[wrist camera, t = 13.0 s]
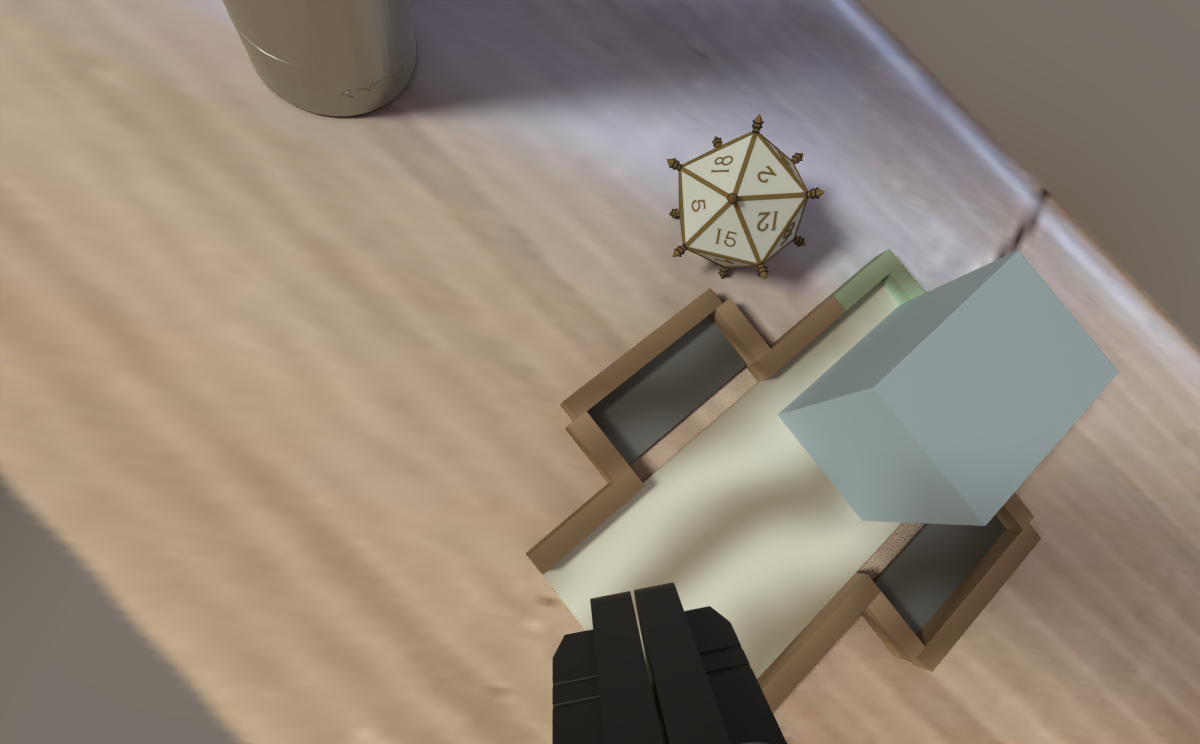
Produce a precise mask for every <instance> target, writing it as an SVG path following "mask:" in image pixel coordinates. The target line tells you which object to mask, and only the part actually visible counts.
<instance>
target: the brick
mask: <svg viewBox="0 0 1200 744" xmlns="http://www.w3.org/2000/svg"><path fill="white" fill-rule="evenodd" d="M1118 372H1119V371H1118V370H1117V369H1116V368H1115V366H1114V365H1113V364H1112V363H1111V362H1110V360H1109V359H1108V358H1107V357H1106V356H1105V354H1104V353H1103V352H1102V351H1101V349H1100V348H1099V347H1098V346H1097V345H1096V343H1095V342H1094V341H1093V340H1092V339H1091V337H1090V336H1089V335H1088V334H1087V333H1086V331H1085V330H1084V329H1083V328H1082V326H1081V325H1080V324H1079V323H1078V322H1077V320H1076V319H1075V318H1074V317H1073V316H1072V314H1071V313H1070V312H1069V311H1068V309H1067V308H1066V307H1065V306H1064V305H1063V303H1062V302H1061V301H1060V300H1059V299H1058V297H1057V296H1056V295H1055V294H1054V292H1053V291H1052V290H1051V289H1050V288H1049V286H1048V285H1047V284H1046V283H1045V282H1044V280H1043V279H1042V278H1041V277H1040V275H1039V274H1038V273H1037V272H1036V271H1035V269H1034V268H1033V267H1032V266H1031V265H1030V263H1029V262H1028V261H1027V260H1026V258H1025V257H1024V256H1023V255H1022V254H1021V252H1020V251H1019V250H1018V251H1016V252H1014V253H1012V254H1009V255H1007V256H1005V257H1003V258H1001V259H999V260H996V261H994V262H992V263H990V264H988V265H985V266H983V267H981V268H979V269H977V270H975V271H972V272H970V273H968V274H966V275H964V276H962V277H959V278H957V279H955V280H953V281H951V282H948V283H946V284H944V285H942V286H940V287H938V288H935V289H933V290H931V291H929V292H927V293H924V294H922V295H920V296H918V297H916V298H914V299H911V300H909V301H907V302H905V303H903V304H900V305H899V306H898V307H897V308H896V309H895V310H893V311H892V312H891V313H890V314H889V315H888V316H887V317H886V318H885V319H883V320H882V321H881V322H880V323H879V324H878V325H877V326H876V327H875V328H873V329H872V330H871V331H870V332H869V333H868V334H867V335H866V336H865V337H863V338H862V339H861V340H860V341H859V342H858V343H857V344H856V345H855V346H853V347H852V348H851V349H850V350H849V351H848V352H847V353H846V354H845V355H843V356H842V357H841V358H840V359H839V360H838V361H837V362H836V363H835V364H833V365H832V366H831V367H830V368H829V369H828V370H827V371H826V372H825V373H823V374H822V375H821V376H820V377H819V378H818V379H817V380H816V381H815V382H813V383H812V384H811V385H810V386H809V387H808V388H807V389H806V390H805V391H803V392H802V393H801V394H800V395H799V396H798V397H797V398H796V399H795V400H793V401H792V402H791V403H790V404H789V405H788V406H787V407H786V408H785V409H783V410H782V411H781V412H780V413H779V414H778V416H779V417H780V419H781V420H782V421H783V423H784V424H785V425H786V426H787V428H788V429H789V430H790V431H791V433H792V434H793V435H794V436H795V438H796V439H797V440H798V441H799V443H800V444H801V445H802V446H803V448H804V449H805V450H806V451H807V453H808V454H809V455H810V456H811V458H812V459H813V460H814V461H815V463H816V464H817V465H818V466H819V468H820V469H821V470H822V471H823V473H824V474H825V475H826V476H827V478H828V479H829V480H830V481H831V483H832V484H833V485H834V487H835V488H836V489H837V490H838V492H839V493H840V494H841V495H842V497H843V498H844V499H845V500H846V502H847V503H848V504H849V505H850V507H851V508H852V509H853V510H854V512H855V513H856V514H857V515H858V517H859V518H860V519H861V520H862V521H881V522H905V523H928V524H952V525H976V526H986V525H987V524H988V522H989V521H990V520H991V519H992V518H993V517H994V515H995V514H996V513H997V512H998V511H999V510H1000V509H1001V507H1002V506H1003V505H1004V504H1005V503H1006V502H1007V500H1008V499H1009V498H1010V497H1011V496H1012V495H1013V494H1014V492H1015V491H1016V490H1017V489H1018V488H1019V487H1020V485H1021V484H1022V483H1023V482H1024V481H1025V480H1026V479H1027V477H1028V476H1029V475H1030V474H1031V473H1032V472H1033V470H1034V469H1035V468H1036V467H1037V466H1038V465H1039V464H1040V462H1041V461H1042V460H1043V459H1044V458H1045V457H1046V455H1047V454H1048V453H1049V452H1050V451H1051V450H1052V449H1053V447H1054V446H1055V445H1056V444H1057V443H1058V442H1059V440H1060V439H1061V438H1062V437H1063V436H1064V435H1065V433H1066V432H1067V431H1068V430H1069V429H1070V428H1071V427H1072V425H1073V424H1074V423H1075V422H1076V421H1077V420H1078V418H1079V417H1080V416H1081V415H1082V414H1083V413H1084V412H1085V410H1086V409H1087V408H1088V407H1089V406H1090V405H1091V403H1092V402H1093V401H1094V400H1095V399H1096V398H1097V397H1098V395H1099V394H1100V393H1101V392H1102V391H1103V390H1104V388H1105V387H1106V386H1107V385H1108V384H1109V383H1110V382H1111V380H1112V379H1113V378H1114V377H1115V376H1116V375H1117V373H1118Z"/></svg>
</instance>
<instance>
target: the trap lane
mask: <svg viewBox="0 0 1200 744" xmlns="http://www.w3.org/2000/svg"><path fill="white" fill-rule="evenodd" d="M924 293H925V292H924V290H923V289H922V288H921V287H920V286H919V284H918V283H917V282H916V281H915V279H914V278H913V277H912V276H911V274H910V273H909V272H908V271H907V270H906V268H905V267H904V266H903V265H902V263H901V262H900V261H899V260H898V259H897V257H896V256H895V255H894V254H893V252H892V251H891V250H890V249H888V250H886V251H885V252H883V253H881V254H880V255H878V256H876V257H875V258H874V259H872V260H871V261H870V262H869V263H868V264H866V265H865V266H864V267H863V268H862V269H861V270H859V271H858V272H857V273H856V274H855V275H854V276H852V277H851V278H850V279H849V280H848V281H846V282H845V283H844V284H843V285H842V286H841V287H839V288H838V289H837V290H836V291H835V292H833V293H832V294H831V295H830V296H829V297H828V298H826V299H825V300H824V301H823V302H822V303H821V304H819V305H818V306H817V307H816V308H815V309H813V310H812V311H811V312H810V313H809V314H808V315H806V316H805V317H804V318H803V319H802V320H800V321H799V322H798V323H797V324H796V325H795V326H793V327H792V328H791V329H790V330H789V331H787V332H786V333H785V334H784V335H783V336H782V337H780V338H779V339H778V340H777V341H776V342H775V343H773V344H772V345H771V346H770V347H769V346H768V345H767V343H766V342H765V341H764V340H763V338H762V337H761V336H760V335H759V333H758V332H757V331H756V330H755V328H754V327H753V326H752V325H751V323H750V322H749V321H748V320H747V319H746V317H745V316H744V315H743V314H742V312H741V311H740V310H739V309H738V307H737V306H736V305H735V304H734V302H733V301H732V300H731V299H730V298H729V299H728V300H727V301H726V302H724V303H722V302H721V300H720V299H719V298H718V297H717V295H716V294H715V293H714V292H713V290H712V289H711V288H709V289H708V290H707V291H706V292H704V293H703V294H702V295H700V296H699V297H698V298H697V299H695V300H694V301H693V302H691V303H690V304H689V305H687V306H686V307H685V308H684V309H682V310H681V311H680V312H678V313H677V314H676V315H675V316H673V317H672V318H671V319H669V320H668V321H667V322H665V323H664V324H663V325H662V326H660V327H659V328H658V329H656V330H655V331H654V332H653V333H651V334H650V335H649V336H647V337H646V338H645V339H643V340H642V341H641V342H640V343H638V344H637V345H636V346H634V347H633V348H632V349H631V350H629V351H628V352H627V353H625V354H624V355H623V356H621V357H620V358H619V359H618V360H616V361H615V362H614V363H612V364H611V365H610V366H609V367H607V368H606V369H605V370H603V371H602V372H601V373H599V374H598V375H597V376H596V377H594V378H593V379H592V380H590V381H589V382H588V383H587V384H585V385H584V386H583V387H581V388H580V389H579V390H577V391H576V392H575V393H574V394H572V395H571V396H570V397H568V398H567V399H566V400H564V402H563V403H562V404H561V407H562V408H563V409H564V410H565V412H566V413H567V414H568V416H569V417H570V418H571V419H572V421H573V422H572V423H571V424H570V425H569V426H567V427H566V428H565V429H566V430H567V431H568V433H569V434H570V435H571V436H572V438H573V439H574V440H575V442H576V443H577V444H578V445H579V447H580V448H581V449H582V450H583V452H584V453H585V454H586V456H587V457H588V458H589V459H590V461H591V462H592V463H593V465H594V466H595V467H596V468H597V470H598V471H599V472H600V473H601V475H602V476H603V477H604V479H605V480H606V481H607V482H608V484H607V485H606V486H605V487H604V488H602V489H601V490H600V491H599V492H598V493H597V494H595V495H594V496H593V497H592V498H591V499H589V500H588V501H587V502H586V503H585V504H584V505H582V506H581V507H580V508H579V509H578V510H576V511H575V512H574V513H573V514H572V515H571V516H569V517H568V518H567V519H566V520H565V521H563V522H562V523H561V524H560V525H559V526H558V527H556V528H555V529H554V530H553V531H552V532H551V533H549V534H548V535H547V536H546V537H545V538H543V539H542V540H541V541H540V542H539V543H538V544H536V545H535V546H534V547H533V548H532V549H530V550H529V551H528V552H527V553H526V554H527V556H528V557H529V558H530V560H531V561H532V562H533V563H534V565H535V566H536V567H537V569H538V570H539V571H540V572H541V574H542V575H543V576H544V578H545V579H546V580H547V582H548V583H549V584H550V585H551V587H552V588H553V589H554V591H555V592H556V593H557V594H558V596H559V597H560V598H561V600H562V601H563V602H564V604H565V605H566V606H567V607H568V609H569V610H570V611H571V613H572V614H573V615H574V616H575V618H576V619H577V620H578V622H579V623H580V624H581V626H582V627H583V628H584V629H585V631H587V630H592V629H593V624H592V614H591V604H590V599H591V598H596V597H601V596H607V595H612V594H617V593H622V592H627V591H630V592H631V597H632V601H633V606H634V610H635V615H636V619H637V624H638V629H639V633H640V638H641V642H642V636H641V631H640V625H639V619H638V614H637V608H636V602H635V596H634V590H636V589H641V588H646V587H652V586H657V585H662V584H667V583H672V582H674V584H675V586H676V589H677V592H678V595H679V598H680V601H681V603H682V606H683V609H684V611H687V610H692V609H697V608H702V607H708V606H711V607H712V608H713V609H714V610H716V611H717V612H718V613H719V614H721V615H722V616H723V617H725V618H726V619H727V620H728V621H730V622H731V624H732V626H733V629H734V631H735V633H736V635H737V637H738V639H739V642H740V644H741V647H742V649H743V650H744V652H745V655H746V657H747V659H748V661H749V663H750V667H751V668H752V670H753V672H754V674H755V676H756V678H757V680H758V683H759V685H760V687H761V689H762V691H763V693H764V696H765V698H766V700H767V702H768V704H769V706H770V709H771V711H772V713H773V712H774V711H775V710H776V708H777V707H778V706H779V705H780V704H781V703H782V702H783V701H784V699H785V698H786V697H787V696H788V695H789V694H790V693H791V692H792V691H793V689H794V688H795V687H796V686H797V685H798V684H799V683H800V682H801V681H802V679H803V678H804V677H805V676H806V675H807V674H808V673H809V672H810V671H811V669H812V668H813V667H814V666H815V665H816V664H817V663H818V662H819V660H820V659H821V658H822V657H823V656H824V655H825V654H826V653H827V652H828V650H829V649H830V648H831V647H832V646H833V645H834V644H835V643H836V642H837V640H838V639H839V638H840V637H841V636H842V635H843V634H844V633H845V631H846V630H847V629H848V628H849V627H850V626H851V625H852V624H853V623H854V621H855V620H856V619H857V618H858V617H859V616H860V615H862V616H863V617H864V618H865V620H866V621H867V622H868V623H869V625H870V626H871V627H872V628H873V630H874V631H875V632H876V633H877V635H878V636H879V637H880V639H881V640H882V641H883V642H884V644H885V645H886V646H887V647H888V649H889V650H890V651H891V652H892V654H893V655H894V656H896V657H899V658H902V659H905V660H908V661H910V662H912V663H913V665H915V666H918V667H921V668H924V669H927V670H929V671H932V672H933V670H934V669H935V668H936V667H937V666H938V664H939V663H940V662H941V661H942V659H943V658H944V657H945V656H946V654H947V653H948V652H949V651H950V650H951V648H952V647H953V646H954V645H955V643H956V642H957V641H958V640H959V639H960V637H961V636H962V635H963V634H964V632H965V631H966V630H967V629H968V627H969V626H970V625H971V624H972V623H973V621H974V620H975V619H976V618H977V616H978V615H979V614H980V613H981V612H982V610H983V609H984V608H985V607H986V605H987V604H988V603H989V602H990V600H991V599H992V598H993V597H994V596H995V594H996V593H997V592H998V591H999V589H1000V588H1001V587H1002V586H1003V585H1004V583H1005V582H1006V581H1007V580H1008V578H1009V577H1010V576H1011V575H1012V573H1013V572H1014V571H1015V570H1016V569H1017V567H1018V566H1019V565H1020V564H1021V562H1022V561H1023V560H1024V559H1025V558H1026V556H1027V555H1028V554H1029V553H1030V551H1031V550H1032V549H1033V548H1034V546H1035V545H1036V544H1037V543H1038V542H1039V540H1040V539H1041V538H1040V537H1039V535H1038V534H1037V533H1036V532H1035V530H1034V529H1033V528H1032V527H1031V526H1030V524H1029V522H1030V521H1031V519H1032V518H1033V517H1034V516H1033V515H1032V514H1031V513H1030V511H1029V510H1028V509H1027V508H1026V506H1025V505H1024V504H1023V503H1022V501H1021V500H1020V499H1019V498H1018V497H1017V495H1016V494H1015V493H1014V494H1013V495H1012V496H1011V497H1010V498H1009V499H1008V500H1007V502H1006V503H1005V504H1004V505H1003V506H1002V507H1001V509H1000V510H999V511H998V512H997V513H996V514H995V515H994V517H993V518H992V519H991V520H990V521H989V522H988V524H987V525H986V526H976V525H952V524H928V523H926V524H925V525H924V526H923V527H922V528H921V529H920V530H919V531H918V532H917V534H916V535H915V536H914V537H913V538H912V539H911V540H910V541H909V542H908V543H907V545H906V546H905V547H904V548H903V549H902V550H901V551H900V552H899V553H898V554H897V556H896V557H895V558H894V559H893V560H892V561H891V562H890V563H889V564H888V565H887V567H886V568H885V569H884V570H883V571H882V572H881V573H880V574H879V575H878V576H877V578H876V579H875V580H874V581H873V580H872V579H871V578H870V577H869V575H867V574H861V573H856V572H857V571H858V570H859V569H860V568H861V567H862V565H863V564H864V563H865V562H866V561H867V560H868V559H869V558H870V557H871V556H872V555H873V554H874V552H875V551H876V550H877V549H878V548H879V547H880V546H881V545H882V544H883V543H884V542H885V541H886V540H887V538H888V537H889V536H890V535H891V534H892V533H893V532H894V531H895V530H896V529H897V528H898V527H899V526H900V524H901V523H902V522H881V521H862V520H861V519H860V518H859V517H858V515H857V514H856V513H855V512H854V510H853V509H852V508H851V507H850V505H849V504H848V503H847V502H846V500H845V499H844V498H843V497H842V495H841V494H840V493H839V492H838V490H837V489H836V488H835V487H834V485H833V484H832V483H831V481H830V480H829V479H828V478H827V476H826V475H825V474H824V473H823V471H822V470H821V469H820V468H819V466H818V465H817V464H816V463H815V461H814V460H813V459H812V458H811V456H810V455H809V454H808V453H807V451H806V450H805V449H804V448H803V446H802V445H801V444H800V443H799V441H798V440H797V439H796V438H795V436H794V435H793V434H792V433H791V431H790V430H789V429H788V428H787V426H786V425H785V424H784V423H783V421H782V420H781V419H780V417H779V416H778V414H779V413H780V412H781V411H782V410H783V409H785V408H786V407H787V406H788V405H789V404H790V403H791V402H792V401H793V400H795V399H796V398H797V397H798V396H799V395H800V394H801V393H802V392H803V391H805V390H806V389H807V388H808V387H809V386H810V385H811V384H812V383H813V382H815V381H816V380H817V379H818V378H819V377H820V376H821V375H822V374H823V373H825V372H826V371H827V370H828V369H829V368H830V367H831V366H832V365H833V364H835V363H836V362H837V361H838V360H839V359H840V358H841V357H842V356H843V355H845V354H846V353H847V352H848V351H849V350H850V349H851V348H852V347H853V346H855V345H856V344H857V343H858V342H859V341H860V340H861V339H862V338H863V337H865V336H866V335H867V334H868V333H869V332H870V331H871V330H872V329H873V328H875V327H876V326H877V325H878V324H879V323H880V322H881V321H882V320H883V319H885V318H886V317H887V316H888V315H889V314H890V313H891V312H892V311H893V310H895V309H896V308H897V307H898V306H899V305H900V304H903V303H905V302H907V301H909V300H911V299H914V298H916V297H918V296H920V295H922V294H924ZM745 366H746V367H747V368H748V369H749V371H750V372H751V373H752V374H753V376H754V377H755V378H756V379H757V381H758V383H757V384H756V385H754V386H753V387H752V388H751V389H750V390H749V391H747V392H746V393H745V394H744V395H743V396H742V397H741V398H739V399H738V400H737V401H736V402H735V403H734V404H732V405H731V406H730V407H729V408H728V409H727V410H726V411H724V412H723V413H722V414H721V415H720V416H719V417H717V418H716V419H715V420H714V421H713V422H712V423H711V424H709V425H708V426H707V427H706V428H705V429H704V430H702V431H701V432H700V433H699V434H698V435H697V436H696V437H694V438H693V439H692V440H691V441H690V442H689V443H687V444H686V445H685V446H684V447H683V448H682V449H681V450H679V451H678V452H677V453H676V454H675V455H674V456H672V457H671V458H670V459H669V460H668V461H667V462H666V463H664V464H663V465H662V466H661V467H660V468H659V469H658V470H656V471H655V472H654V473H653V474H652V475H651V476H649V477H648V478H647V479H646V480H645V481H644V482H643V483H642V481H641V480H640V479H639V477H638V476H637V475H636V474H635V472H634V471H633V470H632V469H631V467H630V466H629V464H630V463H631V462H632V461H634V460H635V459H636V458H637V457H638V456H640V455H641V454H642V453H643V452H644V451H645V450H647V449H648V448H649V447H650V446H651V445H653V444H654V443H655V442H656V441H657V440H658V439H660V438H661V437H662V436H663V435H664V434H666V433H667V432H668V431H669V430H670V429H671V428H673V427H674V426H675V425H676V424H677V423H678V422H680V421H681V420H682V419H683V418H684V417H686V416H687V415H688V414H689V413H690V412H691V411H693V410H694V409H695V408H696V407H697V406H699V405H700V404H701V403H702V402H703V401H704V400H706V399H707V398H708V397H709V396H710V395H712V394H713V393H714V392H715V391H716V390H717V389H719V388H720V387H721V386H722V385H723V384H725V383H726V382H727V381H728V380H729V379H730V378H732V377H733V376H734V375H735V374H736V373H738V372H739V371H740V370H741V369H742V368H743V367H745ZM642 647H643V642H642ZM643 651H644V648H643ZM644 656H645V654H644ZM645 661H646V659H645Z"/></svg>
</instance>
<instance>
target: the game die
mask: <svg viewBox="0 0 1200 744" xmlns="http://www.w3.org/2000/svg"><path fill="white" fill-rule="evenodd" d="M762 123H764V122H763V121H762V119H761V116H760V114H759V115H758V116H757V117H756V118H755V120H753V125H752V127H753V131H752V132H750V133H747V134H745V135H743V136H741V137H739V138H736V139H734V140H732V141H730V142H728V143H725V144H723V145H722V141H721V138H718V137H716V136H715V138H714V141H713V142H712V143H713V144H714V145H713V146H714V147H715V149H713V150H711V151H709V152H707V153H705V154H703V155H701V156H699V157H697V158H695V159H693V160H691V161H689V162H687V163H685V164H683V165H681V164H680V163H679V161H677V160H676V159H675V158H674V159H667V162H668V164H669V166H670V167H669V168H673V170H674V169H676V170H678V171H679V210H678V209H672V211H671V212H670V213H669V215H671V216H672V217H673V218H675V217H676V218H677V217H679V216H680V224H681V233H682V242H683V245H682V246H678V248H677V249H674V250H675V251H674V254H673V257H677V256H680V257H681V255H682V254H684V252H685V250H689V251H691V252H693V253H695V254H697V255H699V256H702V257H704V258H706V259H708V260H710V261H712V262H714V263H716V264H718V265H720V266H722V267H721V269H719V270H720V272H719V274H720V276H721V278H724V277H725V276H727V272H728V269H727V267H758V271H757V272H759V275H758V276H761V277H763V278H764V279H766V276H767V273H768V272H769V271H767V267H765V266H764V263H766V262H767V261H768V260H769V259H770V258H772V257H773V256H774V255H775V254H777V253H778V252H779V251H780V250H782V249H783V248H784V247H785V246H787V245H788V244H789V243H790V242H791V241H794V243H795V245H796V244H797V246H798V247H799V246H804V245H805V242H804V238H801V236H799V237H797V236H796V234H797V230H798V227H799V224H800V221H801V218H802V215H803V212H804V209H805V206H806V202H807V199H808V198H809V197H810V198H812V199H814V198H817V199H818V198H819V197H820V196H821V195H822V194H823V193H824V191H822V190H820V189H819V188H818V187H817V188H816V189H814V188H813V189H811V190H810V191H807V189H806V187H805V185H804V183H803V181H802V178H801V176H800V174H799V172H798V170H797V168H796V166H795V164H797V163H799V161H802V157H803V153H795V155H793V156H792V159H790V158H788V157H787V156H786V155H785V154H784V153H783V152H781V151H780V150H779V149H778V148H777V147H776V146H774V145H773V144H772V143H771V142H770V141H769V140H767V139H766V138H765V137H764V136H763V135H762V134H760V133H759V130H760V129H761V128H762Z"/></svg>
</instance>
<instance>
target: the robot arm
mask: <svg viewBox="0 0 1200 744" xmlns="http://www.w3.org/2000/svg"><path fill="white" fill-rule="evenodd" d="M223 2H224V5H225V7H226V9H227V11H228V14H229V16H230V18H231V20H232V22H233V24H234V26H235V28H236V30H237V32H238V34H239V36H240V38H241V40H242V42H243V44H244V46H245V48H246V50H247V53H248V55H249V57H250V59H251V61H252V63H253V65H254V67H255V69H256V71H257V73H258V74H259V76H260V77H261V78H262V80H263V81H264V82H265V84H266V85H267V86H268V87H269V88H270V89H271V90H272V91H273V92H275V93H276V94H277V95H278V96H279V97H280V98H282V99H284V100H285V101H287V102H289V103H291V104H292V105H294V106H296V107H298V108H301V109H304V110H307V111H309V112H312V113H316V114H322V115H328V116H353V115H358V114H364V113H368V112H370V111H373V110H375V109H378V108H380V107H383V106H384V105H386V104H387V103H389V102H390V101H392V100H393V99H395V98H396V97H397V96H398V95H399V94H400V93H401V92H402V91H403V90H404V88H405V87H406V86H407V84H408V82H409V81H410V79H411V77H412V75H413V72H414V69H415V65H416V38H415V28H414V19H413V10H412V0H223ZM634 596H635V602H636V608H637V614H638V619H639V625H640V631H641V636H642V642H643V647H642V642H641V638H640V633H639V629H638V624H637V619H636V615H635V610H634V606H633V601H632V597H631V592H630V591H627V592H622V593H617V594H612V595H607V596H601V597H596V598H591V599H590V604H591V614H592V624H593V629H592V630H587V631H582V632H577V633H572V634H567V635H565V636H564V638H563V639H562V641H561V643H560V645H559V647H558V649H557V651H556V653H555V655H554V657H553V744H787V743H786V741H785V739H784V737H783V734H782V732H781V730H780V728H779V726H778V724H777V721H776V719H775V717H774V715H773V713H772V711H771V709H770V706H769V704H768V702H767V700H766V698H765V696H764V693H763V691H762V689H761V687H760V685H759V683H758V680H757V678H756V676H755V674H754V672H753V670H752V668H751V667H750V663H749V661H748V659H747V657H746V655H745V652H744V650H743V649H742V647H741V644H740V642H739V639H738V637H737V635H736V633H735V631H734V629H733V626H732V624H731V622H730V621H728V620H727V619H726V618H725V617H723V616H722V615H721V614H719V613H718V612H717V611H716V610H714V609H713V608H712V607H711V606H708V607H702V608H697V609H692V610H687V611H684V609H683V606H682V603H681V601H680V598H679V595H678V592H677V589H676V586H675V584H674V582H672V583H667V584H662V585H657V586H652V587H646V588H641V589H636V590H634ZM643 648H644V651H643ZM644 654H645V656H644ZM645 659H646V661H645Z"/></svg>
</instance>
